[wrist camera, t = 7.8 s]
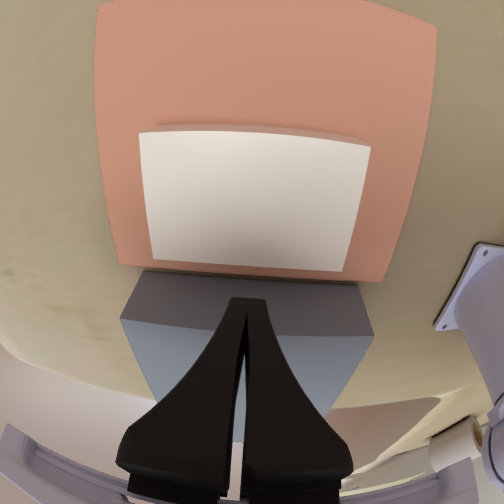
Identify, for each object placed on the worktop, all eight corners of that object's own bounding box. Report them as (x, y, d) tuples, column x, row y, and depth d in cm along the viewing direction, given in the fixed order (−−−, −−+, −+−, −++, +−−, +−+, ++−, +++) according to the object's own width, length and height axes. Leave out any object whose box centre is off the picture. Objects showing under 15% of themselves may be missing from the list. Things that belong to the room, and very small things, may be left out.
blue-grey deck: (357, 285, 16) (374, 335, 13) (302, 410, 26) (304, 443, 23) (143, 270, 16) (119, 318, 13) (181, 402, 26) (175, 434, 23)
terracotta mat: (434, 27, 8) (436, 26, 7) (381, 280, 16) (382, 282, 16) (100, 6, 8) (98, 5, 7) (120, 262, 16) (119, 264, 16)
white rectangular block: (341, 271, 13) (333, 248, 15) (371, 146, 10) (356, 136, 11) (153, 258, 13) (165, 237, 15) (138, 133, 10) (156, 125, 11)
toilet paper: (465, 414, 34) (477, 456, 26) (477, 416, 37) (487, 452, 28) (424, 437, 39) (432, 477, 31) (441, 437, 42) (449, 472, 33)
